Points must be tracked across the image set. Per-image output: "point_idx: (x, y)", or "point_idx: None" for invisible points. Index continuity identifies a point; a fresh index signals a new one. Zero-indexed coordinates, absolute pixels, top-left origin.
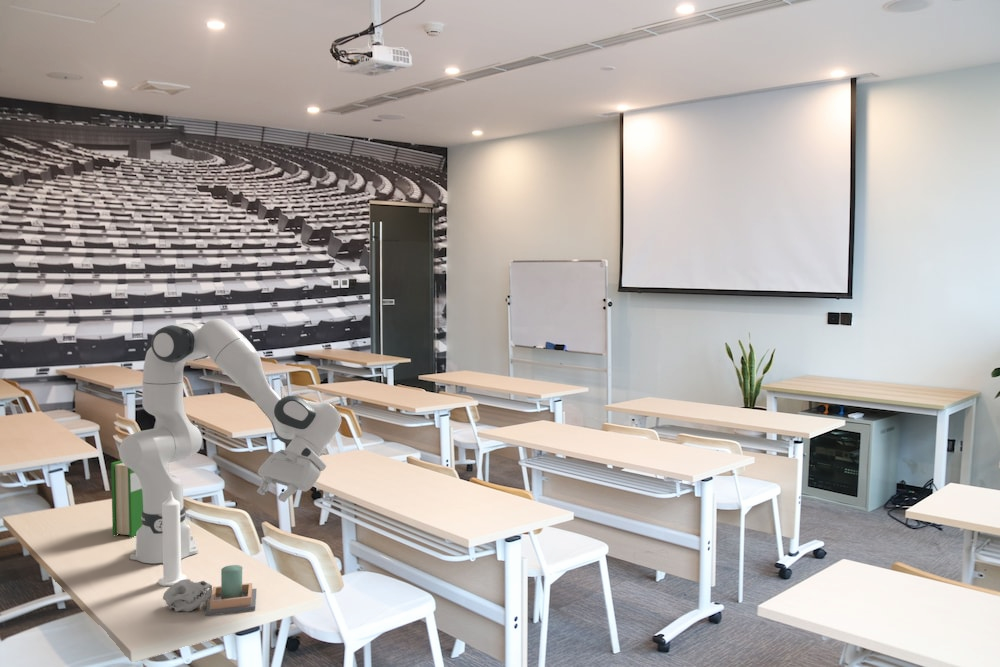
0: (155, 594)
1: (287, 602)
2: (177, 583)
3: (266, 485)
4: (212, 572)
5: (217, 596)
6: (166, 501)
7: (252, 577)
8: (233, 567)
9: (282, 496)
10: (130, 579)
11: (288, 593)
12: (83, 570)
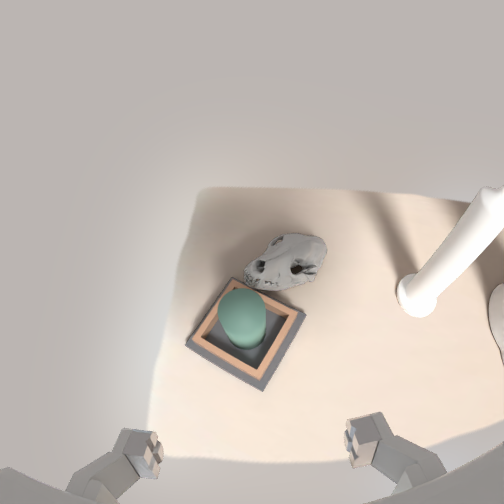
0: (375, 258)
1: (171, 404)
2: (294, 234)
3: (393, 475)
4: (419, 365)
5: (281, 319)
6: (494, 188)
7: (345, 420)
8: (245, 316)
9: (119, 438)
10: None
11: (207, 431)
12: None
